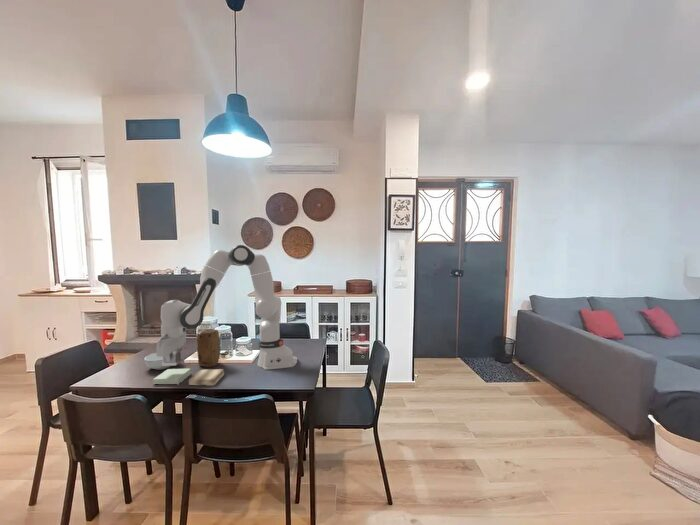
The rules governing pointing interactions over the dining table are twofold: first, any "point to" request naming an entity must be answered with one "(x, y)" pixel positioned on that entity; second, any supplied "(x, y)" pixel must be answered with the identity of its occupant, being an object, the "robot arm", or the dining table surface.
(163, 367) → the cereal bowl
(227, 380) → the dining table surface
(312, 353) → the dining table surface
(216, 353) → the brown jar
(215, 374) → the stand
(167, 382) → the stand
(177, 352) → the housing
